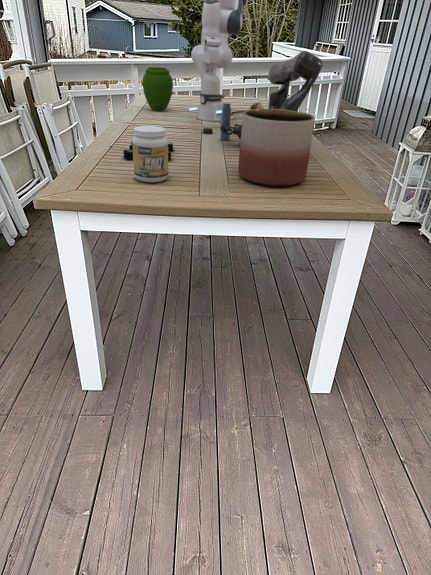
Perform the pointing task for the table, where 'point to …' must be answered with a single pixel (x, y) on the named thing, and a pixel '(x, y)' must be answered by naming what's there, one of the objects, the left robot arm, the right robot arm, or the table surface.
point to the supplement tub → (150, 154)
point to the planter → (275, 146)
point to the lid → (207, 130)
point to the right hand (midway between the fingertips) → (228, 126)
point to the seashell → (257, 106)
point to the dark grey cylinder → (225, 120)
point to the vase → (157, 88)
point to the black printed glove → (129, 153)
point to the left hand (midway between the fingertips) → (209, 73)
